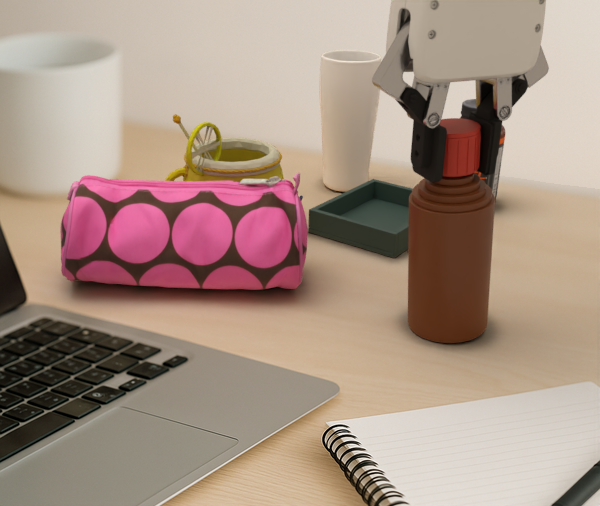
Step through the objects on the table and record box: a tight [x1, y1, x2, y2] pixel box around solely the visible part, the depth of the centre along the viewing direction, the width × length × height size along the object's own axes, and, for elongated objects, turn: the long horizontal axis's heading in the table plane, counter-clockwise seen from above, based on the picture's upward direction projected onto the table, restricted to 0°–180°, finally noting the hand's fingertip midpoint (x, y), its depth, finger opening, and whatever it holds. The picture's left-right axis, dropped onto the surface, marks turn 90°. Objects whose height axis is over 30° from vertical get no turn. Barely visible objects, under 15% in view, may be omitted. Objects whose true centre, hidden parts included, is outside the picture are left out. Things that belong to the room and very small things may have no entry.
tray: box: [307, 178, 413, 259], centre depth 86 cm, size 12×10×2 cm
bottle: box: [407, 173, 496, 344], centre depth 64 cm, size 6×6×16 cm
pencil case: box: [60, 172, 308, 291], centre depth 72 cm, size 21×10×10 cm, turn 92°
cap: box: [440, 117, 481, 177], centre depth 60 cm, size 4×4×3 cm
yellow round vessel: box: [164, 113, 285, 182], centre depth 83 cm, size 13×11×12 cm
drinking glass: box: [319, 49, 382, 193], centre depth 94 cm, size 7×7×15 cm
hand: (453, 170), depth 61 cm, fingers closed on cap, 3 cm apart
